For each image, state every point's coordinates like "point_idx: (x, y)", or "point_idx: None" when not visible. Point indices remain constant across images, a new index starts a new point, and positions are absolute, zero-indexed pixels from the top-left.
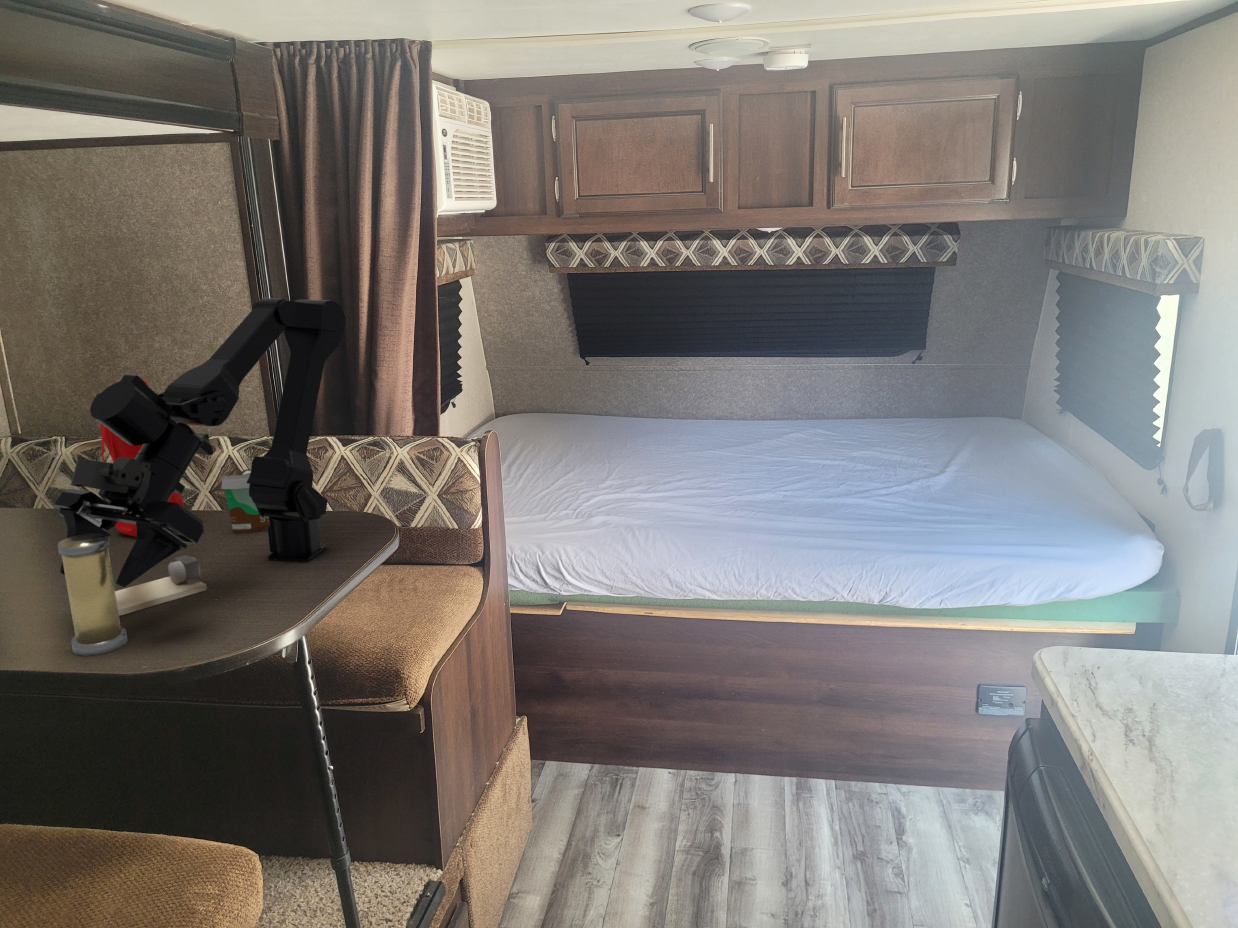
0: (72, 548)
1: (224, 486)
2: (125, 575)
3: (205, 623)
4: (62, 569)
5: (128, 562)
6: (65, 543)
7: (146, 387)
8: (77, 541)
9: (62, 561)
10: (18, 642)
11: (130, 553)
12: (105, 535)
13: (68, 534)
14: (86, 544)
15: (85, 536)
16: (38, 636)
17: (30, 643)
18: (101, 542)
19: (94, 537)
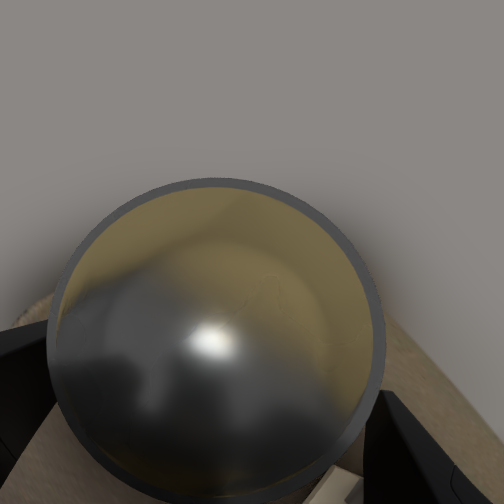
0: (179, 185)
1: None
2: None
3: (93, 469)
4: (387, 396)
5: (26, 332)
6: (295, 249)
7: None
8: (231, 300)
9: (412, 416)
10: (411, 354)
11: (4, 349)
12: (109, 460)
13: (479, 500)
14: (119, 246)
15: (258, 430)
16: (397, 385)
17: (388, 356)
18: (53, 303)
19: (160, 413)
